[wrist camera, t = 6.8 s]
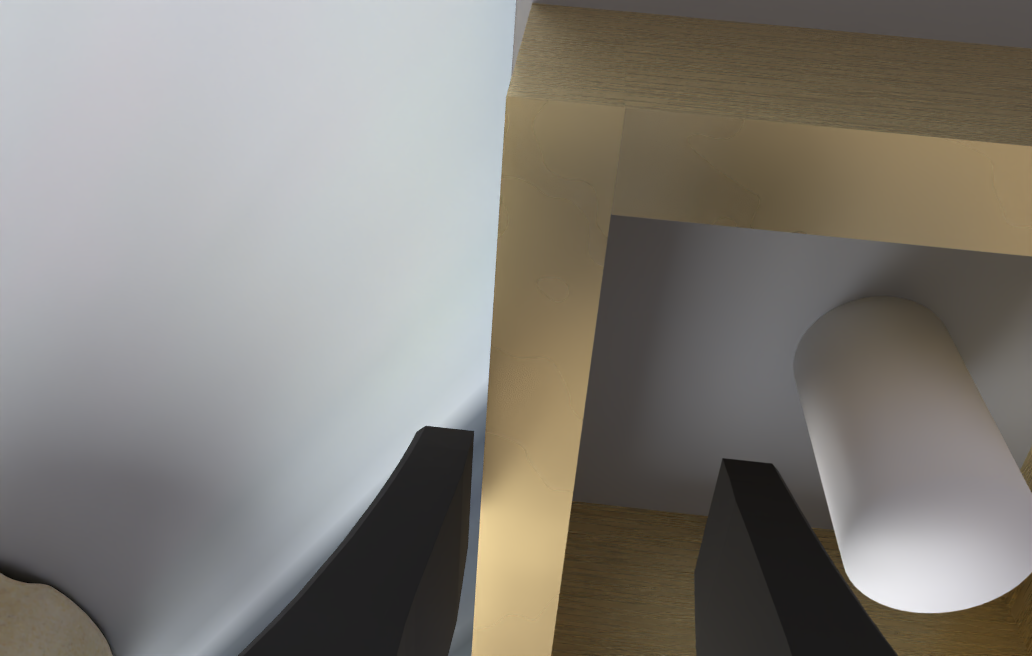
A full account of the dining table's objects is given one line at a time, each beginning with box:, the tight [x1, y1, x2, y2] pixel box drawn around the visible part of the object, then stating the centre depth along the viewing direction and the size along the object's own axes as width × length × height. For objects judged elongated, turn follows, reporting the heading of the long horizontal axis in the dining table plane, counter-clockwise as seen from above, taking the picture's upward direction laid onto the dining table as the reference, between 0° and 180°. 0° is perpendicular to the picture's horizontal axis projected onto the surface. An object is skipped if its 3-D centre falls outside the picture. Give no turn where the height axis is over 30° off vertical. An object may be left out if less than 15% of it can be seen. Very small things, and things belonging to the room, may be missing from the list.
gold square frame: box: [472, 3, 1032, 656], centre depth 14 cm, size 10×10×4 cm
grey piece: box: [511, 0, 1032, 613], centre depth 14 cm, size 14×12×6 cm
